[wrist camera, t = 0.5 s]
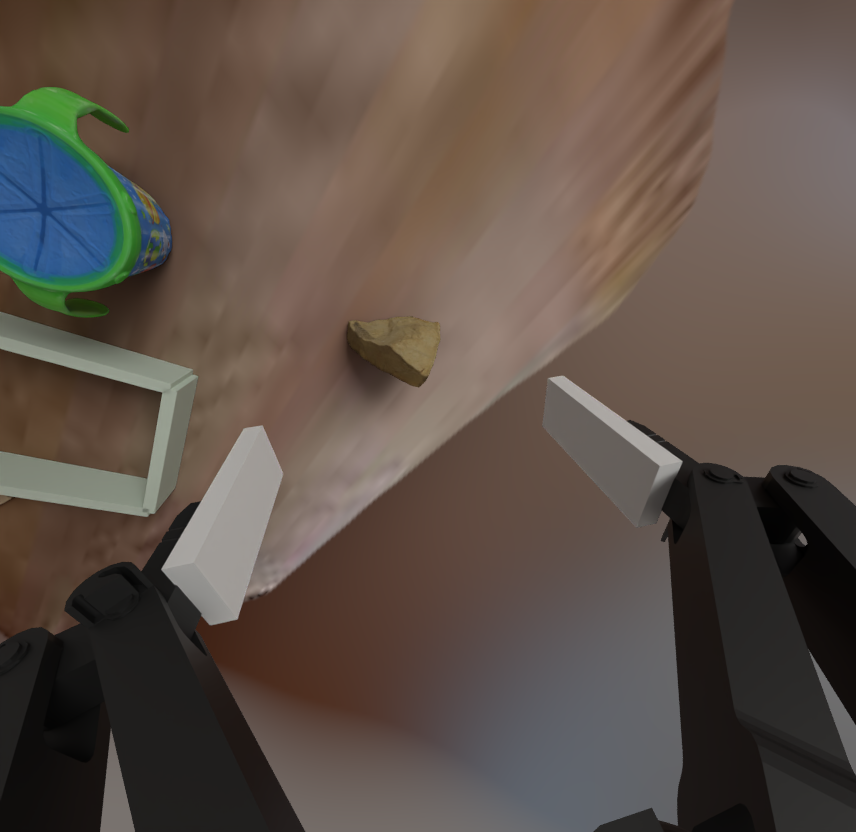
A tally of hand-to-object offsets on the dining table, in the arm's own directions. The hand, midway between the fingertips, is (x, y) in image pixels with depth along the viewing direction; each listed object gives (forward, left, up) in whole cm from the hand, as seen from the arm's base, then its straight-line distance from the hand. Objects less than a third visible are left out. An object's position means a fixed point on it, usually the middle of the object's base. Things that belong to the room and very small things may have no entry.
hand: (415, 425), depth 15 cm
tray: (+2, -33, -27) cm, 42 cm away
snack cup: (-14, -20, -27) cm, 37 cm away
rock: (+1, +2, -27) cm, 27 cm away
